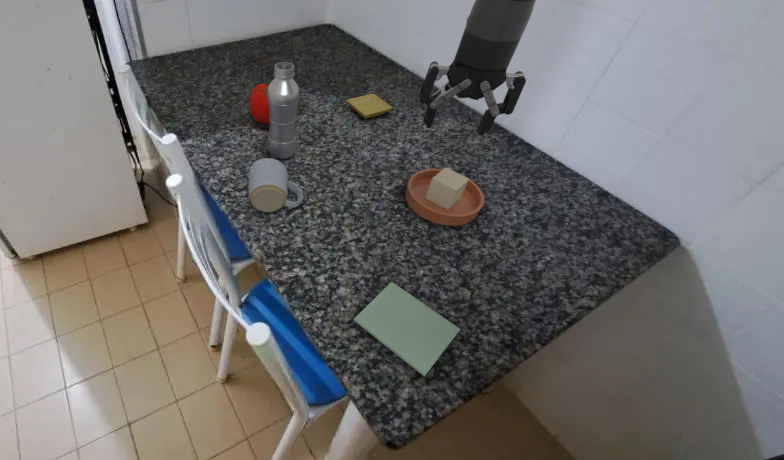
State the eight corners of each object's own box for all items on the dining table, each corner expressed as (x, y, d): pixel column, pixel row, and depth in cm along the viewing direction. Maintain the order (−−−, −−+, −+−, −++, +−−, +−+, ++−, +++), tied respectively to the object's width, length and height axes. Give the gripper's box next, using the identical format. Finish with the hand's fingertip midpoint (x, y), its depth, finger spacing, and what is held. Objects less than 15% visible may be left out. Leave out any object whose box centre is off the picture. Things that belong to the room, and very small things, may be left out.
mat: (459, 330, 58) (460, 329, 57) (424, 376, 53) (425, 375, 52) (390, 283, 64) (391, 281, 63) (353, 320, 59) (353, 318, 58)
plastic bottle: (296, 162, 86) (303, 73, 71) (266, 162, 86) (266, 73, 71) (296, 146, 90) (301, 58, 76) (266, 145, 90) (267, 58, 76)
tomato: (283, 136, 93) (284, 102, 87) (241, 126, 96) (239, 93, 89) (297, 115, 100) (299, 82, 93) (258, 106, 102) (257, 74, 96)
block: (460, 198, 77) (469, 178, 74) (447, 210, 75) (456, 190, 71) (437, 186, 80) (445, 167, 76) (424, 197, 77) (432, 178, 74)
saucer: (363, 122, 98) (365, 115, 96) (344, 106, 103) (345, 99, 102) (391, 115, 100) (393, 107, 99) (371, 100, 106) (373, 92, 104)
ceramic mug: (248, 215, 74) (248, 184, 68) (249, 187, 80) (248, 156, 74) (304, 215, 74) (308, 184, 69) (300, 187, 80) (304, 156, 75)
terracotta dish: (491, 201, 78) (496, 191, 76) (457, 237, 71) (462, 227, 69) (427, 169, 85) (431, 160, 83) (391, 199, 78) (393, 190, 76)
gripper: (443, 33, 54) (411, 135, 65) (555, 44, 51) (501, 147, 63) (440, 15, 59) (411, 113, 71) (542, 24, 57) (494, 124, 68)
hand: (453, 129), depth 67 cm, fingers open, 8 cm apart
